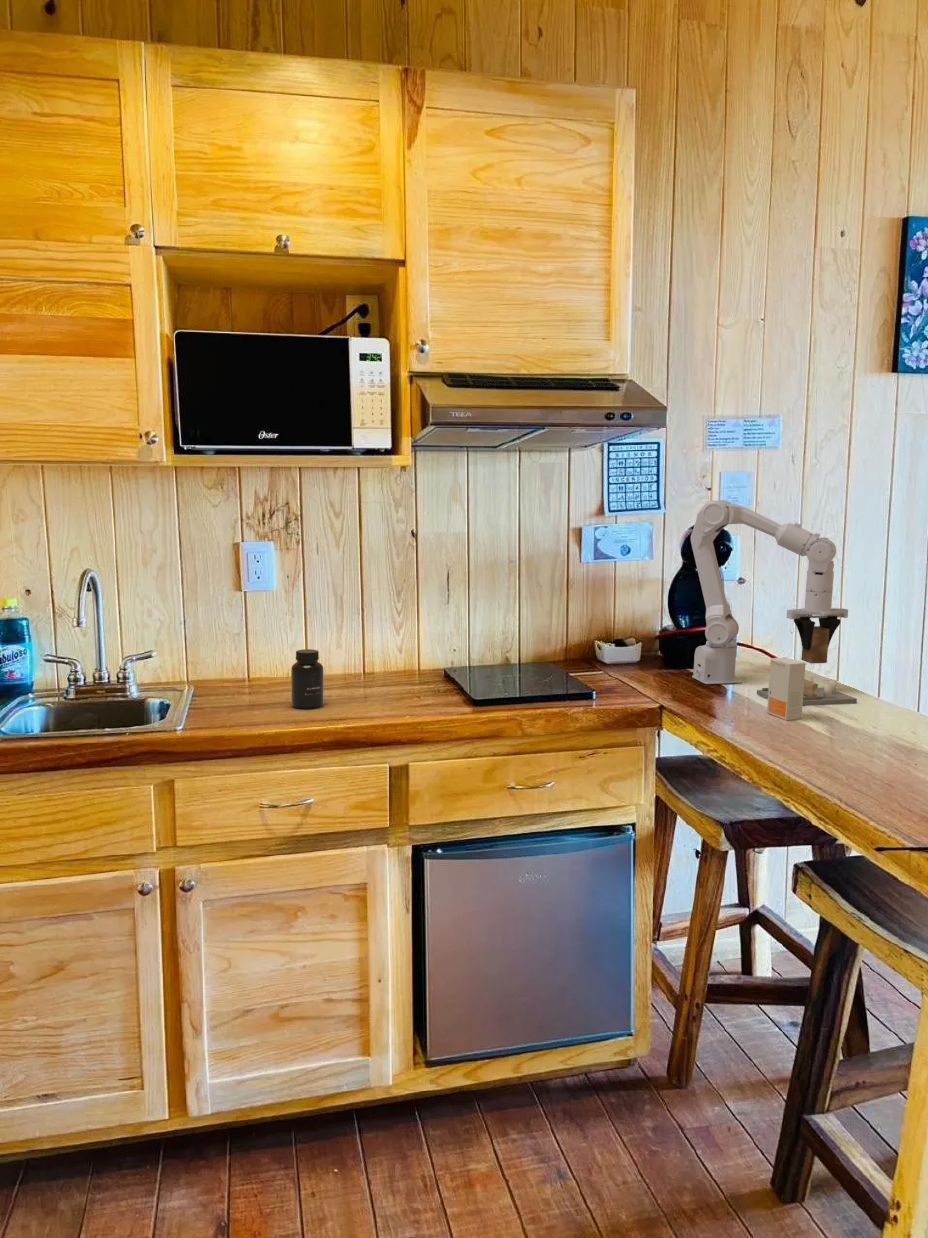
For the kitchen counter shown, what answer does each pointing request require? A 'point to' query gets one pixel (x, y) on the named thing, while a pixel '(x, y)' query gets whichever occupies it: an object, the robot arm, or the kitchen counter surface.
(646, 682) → the kitchen counter surface
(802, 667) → the skincare box
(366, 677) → the kitchen counter surface
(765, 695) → the dock
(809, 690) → the jaw plate
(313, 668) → the supplement bottle
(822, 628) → the walnut block
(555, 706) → the kitchen counter surface
